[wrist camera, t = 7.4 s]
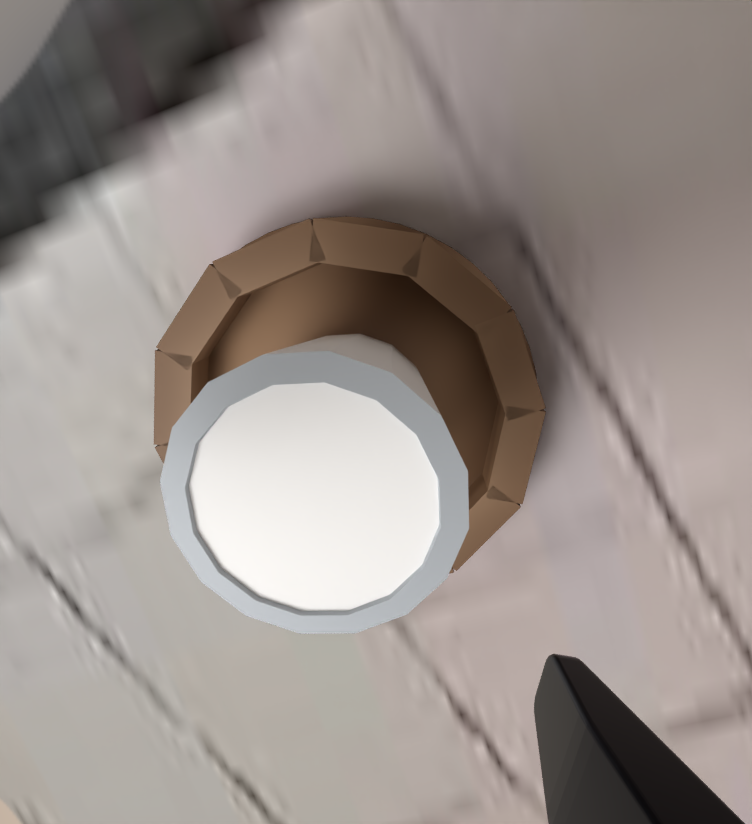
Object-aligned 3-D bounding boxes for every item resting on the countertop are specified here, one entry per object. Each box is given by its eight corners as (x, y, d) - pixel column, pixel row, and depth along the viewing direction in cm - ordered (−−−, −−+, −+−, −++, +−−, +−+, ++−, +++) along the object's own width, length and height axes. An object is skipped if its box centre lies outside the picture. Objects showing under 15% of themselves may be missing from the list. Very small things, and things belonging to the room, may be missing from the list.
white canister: (248, 488, 19) (156, 614, 12) (259, 300, 17) (157, 328, 10) (432, 516, 19) (443, 660, 12) (466, 329, 17) (501, 376, 10)
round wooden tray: (575, 249, 16) (598, 248, 14) (490, 589, 20) (499, 627, 18) (180, 191, 17) (147, 182, 15) (171, 535, 21) (144, 567, 19)
